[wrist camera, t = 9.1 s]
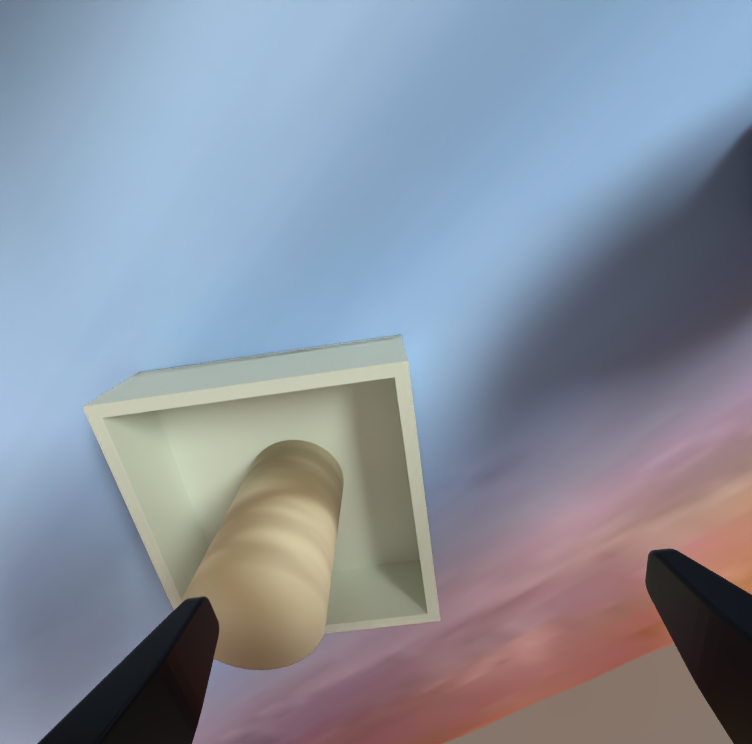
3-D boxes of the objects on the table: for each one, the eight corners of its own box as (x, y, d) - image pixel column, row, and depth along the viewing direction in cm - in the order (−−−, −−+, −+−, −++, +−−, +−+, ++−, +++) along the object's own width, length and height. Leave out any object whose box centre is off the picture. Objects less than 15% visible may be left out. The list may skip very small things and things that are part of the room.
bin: (401, 334, 19) (408, 360, 15) (429, 558, 24) (440, 620, 20) (138, 372, 19) (82, 406, 16) (218, 583, 24) (190, 648, 21)
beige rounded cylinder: (334, 433, 20) (308, 558, 13) (351, 512, 22) (337, 662, 14) (239, 446, 20) (158, 575, 13) (263, 523, 22) (205, 676, 14)
